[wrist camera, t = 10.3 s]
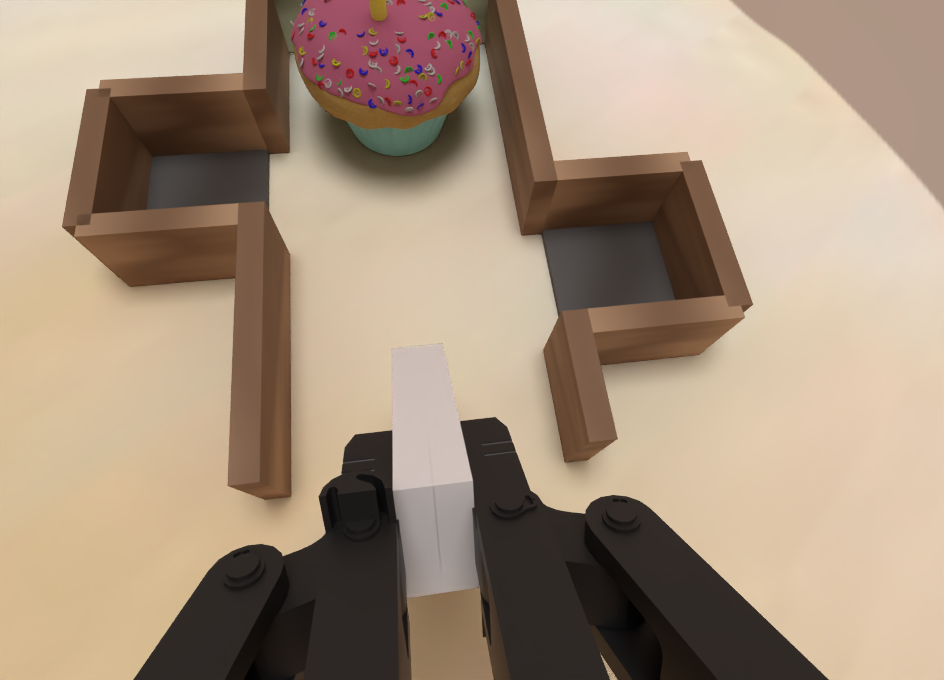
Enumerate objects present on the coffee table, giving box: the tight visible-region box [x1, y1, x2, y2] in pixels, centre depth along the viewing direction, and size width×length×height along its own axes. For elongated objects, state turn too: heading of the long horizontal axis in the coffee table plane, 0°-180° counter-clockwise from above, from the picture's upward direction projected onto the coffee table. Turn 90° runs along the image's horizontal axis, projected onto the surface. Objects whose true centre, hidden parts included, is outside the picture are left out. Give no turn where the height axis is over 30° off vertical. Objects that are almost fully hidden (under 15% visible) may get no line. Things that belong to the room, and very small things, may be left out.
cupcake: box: [290, 0, 482, 156], centre depth 23 cm, size 9×8×12 cm
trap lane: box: [62, 0, 753, 499], centre depth 24 cm, size 26×25×5 cm
